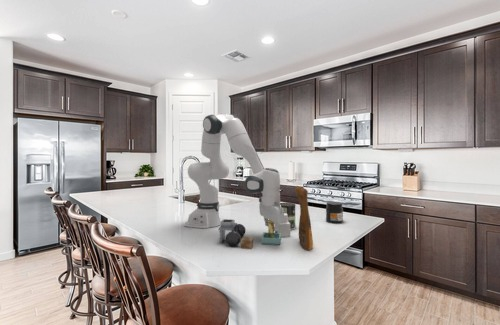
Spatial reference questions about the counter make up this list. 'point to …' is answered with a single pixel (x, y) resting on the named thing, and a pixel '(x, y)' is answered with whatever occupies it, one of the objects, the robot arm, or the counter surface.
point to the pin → (270, 229)
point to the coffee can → (290, 213)
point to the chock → (247, 242)
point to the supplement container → (334, 212)
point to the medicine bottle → (284, 227)
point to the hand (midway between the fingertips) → (271, 228)
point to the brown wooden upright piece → (304, 220)
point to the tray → (271, 239)
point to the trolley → (234, 235)
